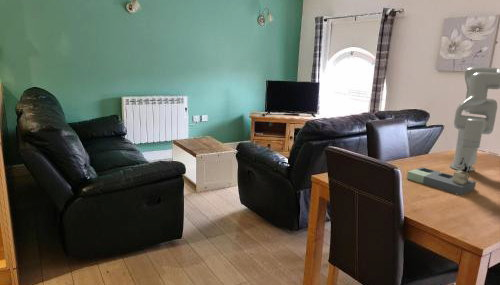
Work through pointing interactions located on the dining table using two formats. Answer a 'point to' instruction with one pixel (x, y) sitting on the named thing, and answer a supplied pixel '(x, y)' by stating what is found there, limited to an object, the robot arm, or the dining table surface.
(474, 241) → the dining table surface
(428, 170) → the board
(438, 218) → the dining table surface
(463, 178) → the maple block
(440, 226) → the dining table surface
